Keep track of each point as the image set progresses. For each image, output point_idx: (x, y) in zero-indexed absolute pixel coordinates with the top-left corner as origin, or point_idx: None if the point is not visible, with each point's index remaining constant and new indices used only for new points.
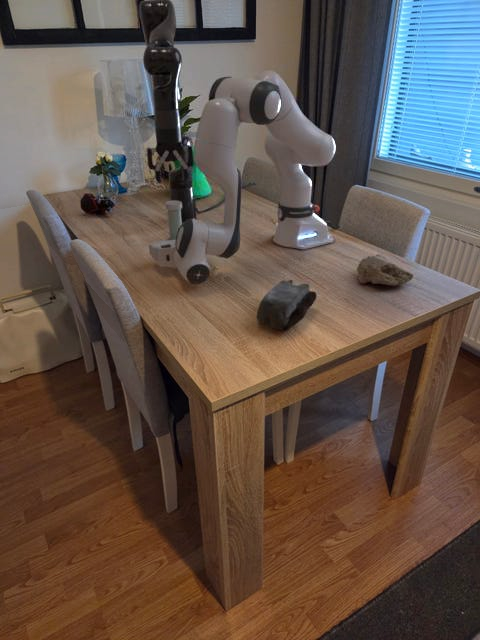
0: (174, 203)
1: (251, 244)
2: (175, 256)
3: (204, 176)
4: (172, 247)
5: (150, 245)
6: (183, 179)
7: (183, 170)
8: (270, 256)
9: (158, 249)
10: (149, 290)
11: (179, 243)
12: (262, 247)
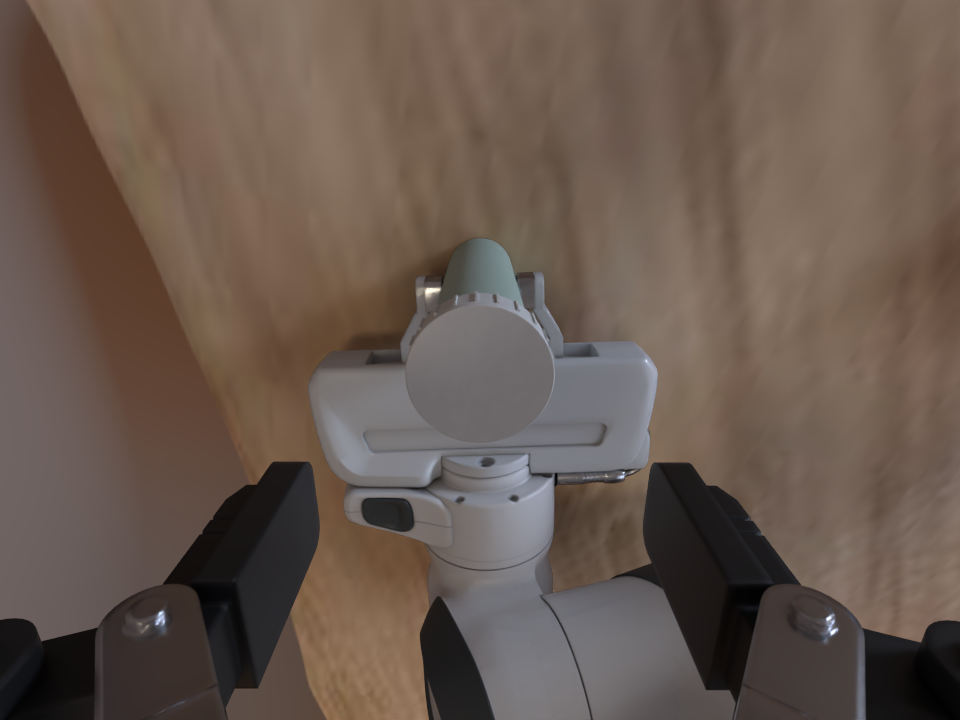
0: (483, 398)
1: (907, 227)
2: (427, 550)
3: None
4: (417, 539)
5: (314, 421)
6: (651, 515)
7: (700, 673)
8: (896, 398)
9: (349, 518)
10: (324, 539)
11: (431, 701)
12: (933, 286)
